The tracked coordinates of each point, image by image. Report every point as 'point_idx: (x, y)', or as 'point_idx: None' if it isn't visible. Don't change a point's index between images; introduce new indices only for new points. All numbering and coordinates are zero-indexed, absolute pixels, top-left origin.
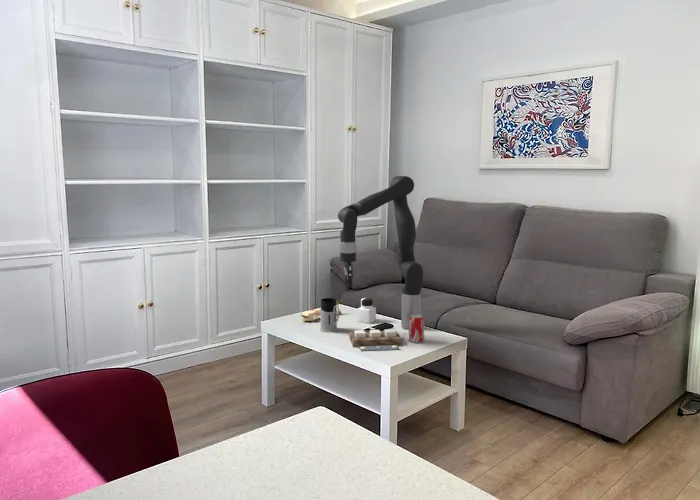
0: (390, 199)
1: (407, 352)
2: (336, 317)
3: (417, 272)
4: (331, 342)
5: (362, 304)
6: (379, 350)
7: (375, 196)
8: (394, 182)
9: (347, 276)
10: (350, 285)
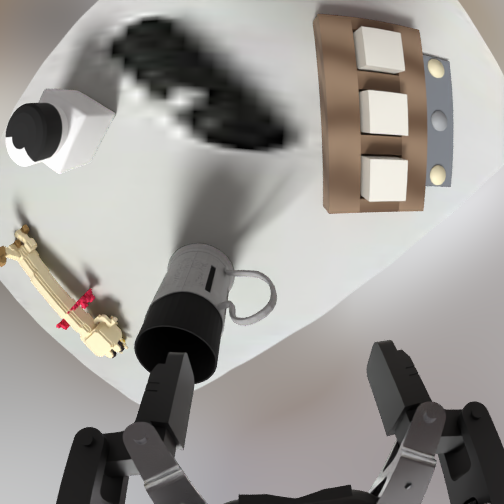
0: None
1: (465, 50)
2: (197, 273)
3: None
4: (353, 270)
5: (50, 153)
6: (450, 125)
7: None
8: None
9: (441, 457)
10: (404, 363)
